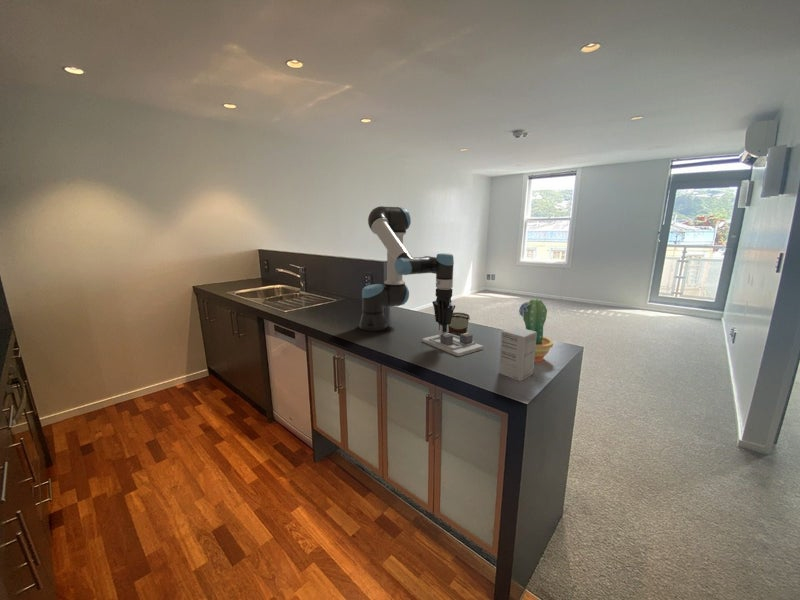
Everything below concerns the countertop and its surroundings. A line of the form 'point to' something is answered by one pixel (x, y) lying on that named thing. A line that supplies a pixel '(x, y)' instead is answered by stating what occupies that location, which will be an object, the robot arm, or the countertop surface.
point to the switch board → (453, 345)
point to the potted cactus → (536, 325)
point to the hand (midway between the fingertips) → (442, 338)
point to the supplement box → (517, 353)
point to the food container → (459, 323)
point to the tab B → (466, 338)
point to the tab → (446, 339)
